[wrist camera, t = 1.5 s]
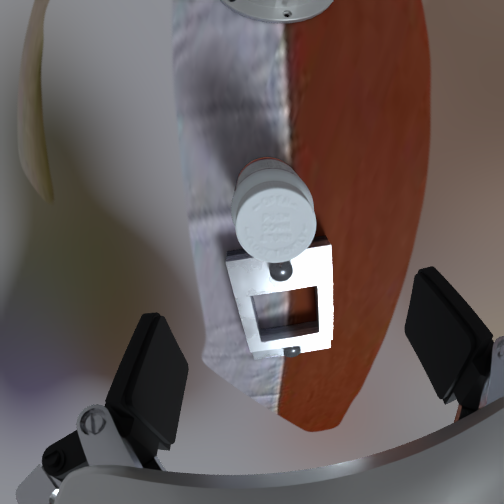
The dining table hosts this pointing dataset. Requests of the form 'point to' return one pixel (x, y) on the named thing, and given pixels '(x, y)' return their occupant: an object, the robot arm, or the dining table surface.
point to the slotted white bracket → (281, 279)
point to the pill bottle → (272, 211)
